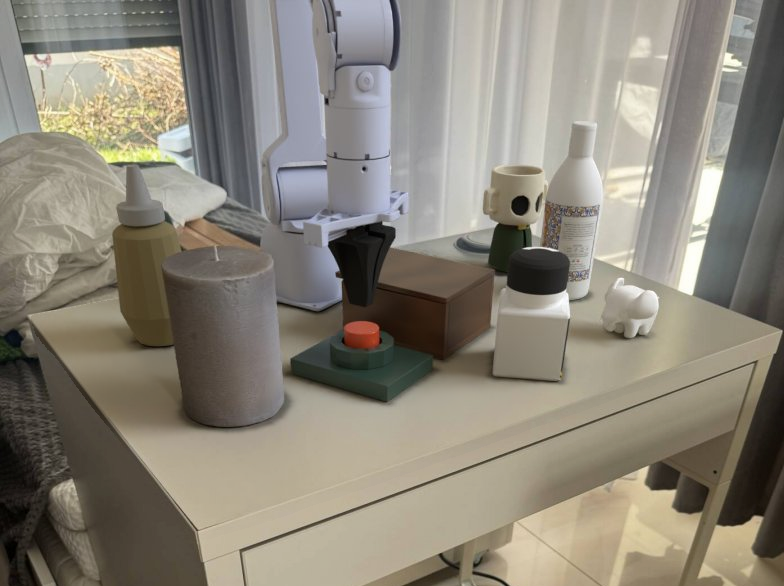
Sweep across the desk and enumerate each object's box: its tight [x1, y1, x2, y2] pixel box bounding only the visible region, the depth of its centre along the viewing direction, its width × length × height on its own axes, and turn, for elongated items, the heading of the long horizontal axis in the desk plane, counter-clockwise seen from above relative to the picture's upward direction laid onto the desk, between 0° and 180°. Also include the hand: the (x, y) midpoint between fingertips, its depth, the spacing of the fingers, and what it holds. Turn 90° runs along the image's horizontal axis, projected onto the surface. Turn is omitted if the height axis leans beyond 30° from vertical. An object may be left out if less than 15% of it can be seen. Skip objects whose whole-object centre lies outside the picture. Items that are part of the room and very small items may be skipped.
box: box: [340, 275, 495, 361], centre depth 89 cm, size 13×11×6 cm
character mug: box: [482, 164, 549, 273], centre depth 106 cm, size 11×7×13 cm, turn 123°
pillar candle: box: [161, 244, 285, 428], centre depth 70 cm, size 10×10×15 cm
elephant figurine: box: [598, 277, 660, 339], centre depth 89 cm, size 7×8×6 cm
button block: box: [289, 330, 434, 403], centre depth 80 cm, size 12×9×4 cm
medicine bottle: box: [492, 246, 571, 382], centre depth 80 cm, size 7×7×12 cm
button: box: [344, 321, 379, 349], centre depth 79 cm, size 4×4×2 cm
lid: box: [335, 246, 496, 304], centre depth 87 cm, size 14×11×1 cm
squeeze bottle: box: [111, 163, 183, 347], centre depth 82 cm, size 8×8×18 cm
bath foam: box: [539, 120, 604, 301], centre depth 96 cm, size 7×7×20 cm
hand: (361, 303), depth 77 cm, fingers closed
